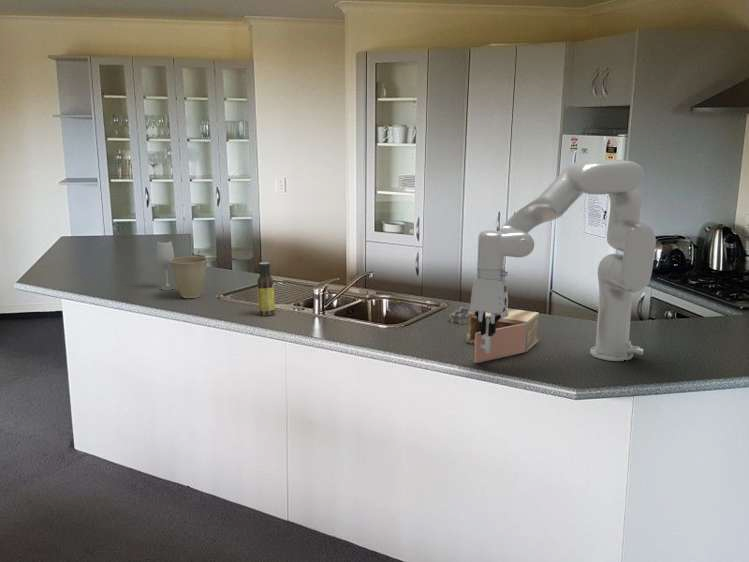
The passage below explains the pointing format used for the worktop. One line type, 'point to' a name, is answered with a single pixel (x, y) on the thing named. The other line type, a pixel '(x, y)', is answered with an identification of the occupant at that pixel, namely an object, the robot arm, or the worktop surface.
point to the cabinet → (507, 324)
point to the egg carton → (460, 315)
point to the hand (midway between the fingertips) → (487, 334)
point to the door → (500, 342)
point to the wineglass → (164, 255)
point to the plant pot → (189, 274)
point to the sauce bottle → (265, 290)
